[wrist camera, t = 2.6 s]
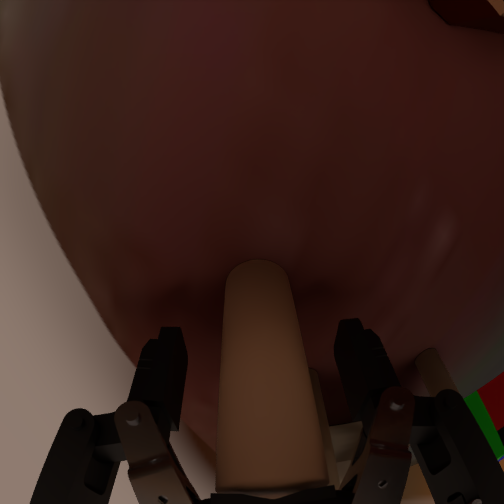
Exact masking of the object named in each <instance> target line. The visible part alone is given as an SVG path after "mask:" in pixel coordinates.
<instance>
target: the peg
mask: <svg viewBox="0 0 504 504" xmlns="http://www.w3.org/2000/svg"><path fill="white" fill-rule="evenodd" d="M329 483H330V480H329V474H328V469H327V463H326V457H325V452H324V446H323V441H322V435H321V430H320V425H319V419H318V414H317V409H316V404H315V399H314V394H313V389H312V384H311V379H310V374H309V369H308V364H307V360H306V355H305V350H304V345H303V341H302V336H301V332H300V327H299V322H298V318H297V313H296V309H295V304H294V300H293V296H292V291H291V287H290V283H289V278H288V276H287V274H286V272H285V271H284V269H283V268H281V267H280V266H279V265H278V264H276V263H274V262H271V261H268V260H262V259H255V260H249V261H246V262H243V263H241V264H239V265H238V266H236V267H235V268H234V269H233V270H232V271H231V272H230V274H229V275H228V277H227V280H226V287H225V301H224V316H223V331H222V348H221V365H220V384H219V404H218V427H217V453H216V488H215V490H216V492H217V493H218V494H245V495H250V496H256V497H262V498H268V499H277V498H280V497H283V496H287V495H290V494H293V493H296V492H299V491H301V490H304V489H311V488H317V487H324V486H327V485H328V484H329Z"/></svg>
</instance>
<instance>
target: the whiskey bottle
mask: <svg viewBox="0 0 504 504" xmlns="http://www.w3.org/2000/svg"><path fill="white" fill-rule="evenodd" d="M429 1H430V4H431V6H432V8H433V9H434V10H435V11H436V12H437V13H438V14H439V15H441V16H442V17H443V18H444V19H445V20H446V21H447V22H448V23H449V24H450V25H455V26H463V27H470V28H476V29H482V30H488V31H493V32H498V33H502V34H504V0H429Z"/></svg>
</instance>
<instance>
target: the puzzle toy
mask: <svg viewBox="0 0 504 504" xmlns="http://www.w3.org/2000/svg"><path fill="white" fill-rule="evenodd" d="M464 401H465V402H466V404H467V406H468V407H469V409H470V411H471V412H472V414H473V416H474V417H475V419H476V421H477V423H478V424H479V426H480V428H481V430H482V432H483V433H484V435H485V437H486V439H487V441H488V442H489V444H490V446H491V448H492V450H493V452H494V454H495V456H496V458H497V460H498V462H499V461H500V460H502V459H503V458H504V372H502V373H501V374H500V375H498V376H497V377H496V378H494V379H493V380H491V381H490V382H489V383H487V384H486V385H484V386H483V387H481V388H480V389H478V390H477V391H475V392H474V393H472V394H471V395H469V396H468V397H466V398H464Z"/></svg>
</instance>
